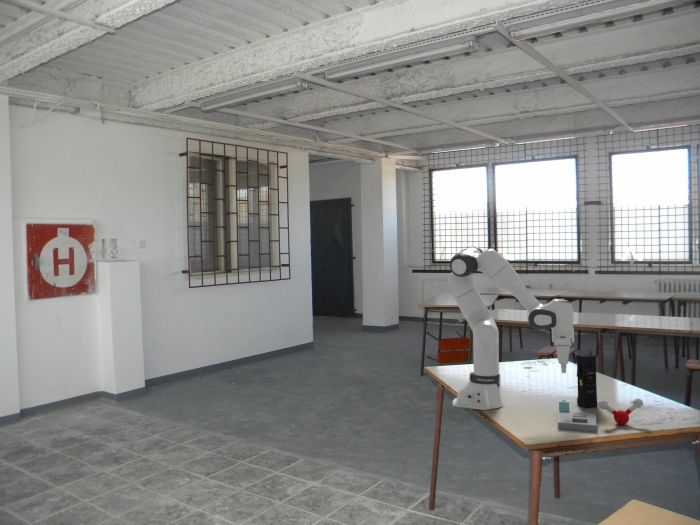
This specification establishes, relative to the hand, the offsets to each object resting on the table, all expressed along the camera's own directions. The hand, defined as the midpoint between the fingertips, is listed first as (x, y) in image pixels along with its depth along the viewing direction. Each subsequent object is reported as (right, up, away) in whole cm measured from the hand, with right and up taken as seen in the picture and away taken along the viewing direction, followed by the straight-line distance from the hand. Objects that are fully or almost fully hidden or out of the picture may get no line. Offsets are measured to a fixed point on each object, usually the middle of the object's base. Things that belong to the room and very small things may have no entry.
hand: (564, 370), depth 247 cm
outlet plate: (+1, -19, -12) cm, 23 cm away
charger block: (0, -19, +1) cm, 19 cm away
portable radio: (+14, -18, +12) cm, 26 cm away
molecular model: (+18, -19, -14) cm, 29 cm away
